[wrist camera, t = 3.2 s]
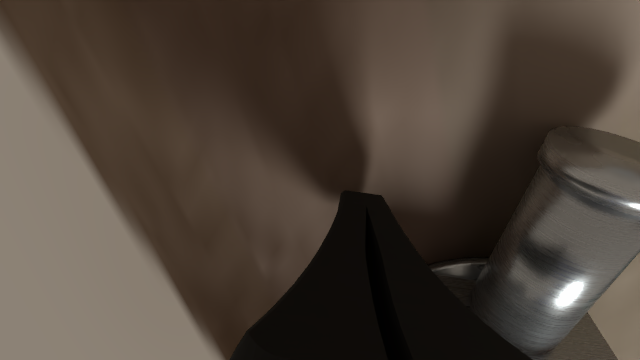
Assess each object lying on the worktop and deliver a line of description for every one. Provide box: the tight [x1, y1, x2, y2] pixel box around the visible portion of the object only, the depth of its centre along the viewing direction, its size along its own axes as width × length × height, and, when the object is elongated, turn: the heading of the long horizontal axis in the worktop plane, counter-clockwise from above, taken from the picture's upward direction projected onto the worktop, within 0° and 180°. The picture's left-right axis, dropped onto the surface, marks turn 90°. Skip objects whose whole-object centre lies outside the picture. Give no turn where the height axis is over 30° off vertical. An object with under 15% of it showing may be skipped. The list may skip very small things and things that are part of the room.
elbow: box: [436, 126, 640, 360], centre depth 13 cm, size 14×7×4 cm, turn 173°
